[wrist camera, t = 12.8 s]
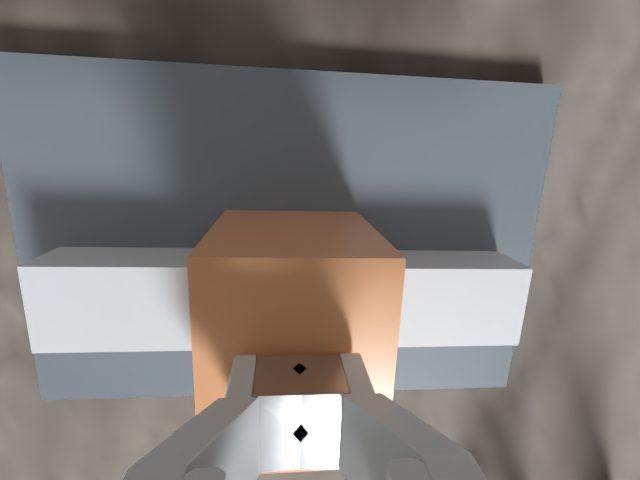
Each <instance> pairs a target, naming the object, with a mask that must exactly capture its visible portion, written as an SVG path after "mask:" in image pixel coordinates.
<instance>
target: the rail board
mask: <svg viewBox="0 0 640 480" xmlns="http://www.w3.org/2000/svg"><path fill="white" fill-rule="evenodd" d="M561 89H562V85H554V84H537V83H520V82H503V81H487V80H470V79H453V78H436V77H419V76H402V75H385V74H368V73H351V72H335V71H318V70H301V69H284V68H267V67H250V66H233V65H216V64H199V63H182V62H166V61H149V60H132V59H115V58H98V57H81V56H64V55H47V54H30V53H13V52H0V159H1V165H2V171H3V176H4V182H5V188H6V194H7V200H8V206H9V212H10V218H11V224H12V230H13V235H14V241H15V247H16V253H17V259H18V265H19V266H18V267H17V269H18V275H19V281H20V286H21V292H22V298H23V304H24V310H25V316H26V322H27V327H28V333H29V339H30V345H31V351H32V353H34V359H35V365H36V371H37V377H38V383H39V389H40V395H41V400H68V399H103V398H138V397H173V396H195V395H194V378H193V360H192V342H191V324H190V307H189V289H188V271H187V257H188V255H189V254H190V253H191V252H192V250H193V249H194V248H195V247H196V245H197V244H198V243H199V242H200V241H201V239H202V238H203V237H204V236H205V234H206V233H207V232H208V231H209V230H210V228H211V227H212V226H213V225H214V223H215V222H216V221H217V220H218V218H219V217H220V216H221V215H222V214H223V212H224V211H225V210H274V211H333V212H358V213H359V214H360V215H361V216H362V217H363V218H364V219H365V220H366V221H367V222H369V223H370V224H371V225H372V226H373V227H374V228H375V229H376V230H377V231H378V232H379V233H380V234H381V235H382V236H383V237H384V238H385V239H386V240H387V241H389V242H390V243H391V244H392V245H393V246H394V247H395V248H396V249H397V250H398V251H399V252H400V253H401V254H402V255H403V256H404V257H405V258H406V267H405V277H404V288H403V298H402V309H401V319H400V329H399V340H398V350H397V361H396V371H395V381H394V390H417V389H452V388H487V387H506V385H507V380H508V374H509V369H510V364H511V358H512V353H513V347H514V345H519V340H520V334H521V329H522V324H523V318H524V313H525V308H526V303H527V297H528V292H529V287H530V281H531V276H532V271H533V269H531V268H529V261H530V256H531V251H532V245H533V240H534V234H535V229H536V224H537V218H538V213H539V208H540V202H541V197H542V191H543V186H544V181H545V175H546V170H547V165H548V159H549V154H550V148H551V143H552V138H553V132H554V127H555V121H556V116H557V111H558V105H559V100H560V95H561Z"/></svg>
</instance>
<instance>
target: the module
mask: <svg viewBox="0 0 640 480" xmlns="http://www.w3.org/2000/svg"><path fill="white" fill-rule="evenodd" d="M405 267H406V258H405V257H404V256H403V255H402V254H401V253H400V252H399V251H398V250H397V249H396V248H395V247H394V246H393V245H392V244H391V243H390V242H389V241H387V240H386V239H385V238H384V237H383V236H382V235H381V234H380V233H379V232H378V231H377V230H376V229H375V228H374V227H373V226H372V225H371V224H370V223H369V222H367V221H366V220H365V219H364V218H363V217H362V216H361V215H360V214H359V213H358V212H333V211H274V210H225V211H224V212H223V214H222V215H221V216H220V217H219V218H218V220H217V221H216V222H215V223H214V225H213V226H212V227H211V228H210V230H209V231H208V232H207V233H206V234H205V236H204V237H203V238H202V239H201V241H200V242H199V243H198V244H197V245H196V247H195V248H194V249H193V250H192V252H191V253H190V254H189V255H188V257H187V271H188V289H189V307H190V324H191V342H192V360H193V378H194V395H195V413H196V415H198V414H199V413H200V412H201V411H203V410H204V409H205V408H206V407H208V406H209V405H210V404H211V403H213V402H214V401H215V400H217V399H218V398H225V395H226V390H227V386H228V382H229V377H230V373H231V368H232V364H233V359H234V357H235V356H236V355H255V354H256V355H318V354H342V353H360V354H361V356H362V359H363V362H364V364H365V367H366V370H367V372H368V375H369V378H370V380H371V383H372V386H373V388H374V391H375V393H382V394H383V395H385V396H386V397H388V398H389V399H391V400H392V401H393V392H394V381H395V371H396V361H397V350H398V340H399V329H400V319H401V309H402V298H403V288H404V277H405ZM324 470H339V469H302V470H300V469H299V470H287V471H274V472H262V473H259V474H268V473H287V472H306V471H324Z"/></svg>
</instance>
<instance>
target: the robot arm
mask: <svg viewBox="0 0 640 480" xmlns="http://www.w3.org/2000/svg"><path fill="white" fill-rule="evenodd" d="M299 469H300V470H302V469H339V472H340V473H341V474H342V475H343V477H344V478H345V479H346V480H487V478H486V477H485V475H484V473H483V472H482V470H481V468H480V467H479V465H478V463H477V462H476V460H475V458H474V457H473V455H472V454H471V453H470V452H468V451H467V450H465V449H464V448H462V447H461V446H459V445H458V444H456V443H455V442H453V441H452V440H450V439H449V438H447V437H446V436H444V435H443V434H441V433H440V432H438V431H437V430H435V429H434V428H432V427H431V426H429V425H428V424H426V423H425V422H424V421H422V420H421V419H419V418H418V417H416V416H415V415H413V414H412V413H410V412H409V411H407V410H406V409H404V408H403V407H401V406H400V405H398V404H397V403H395V402H394V401H392V400H391V399H389V398H388V397H386V396H385V395H383V394H382V393H375V391H374V388H373V386H372V383H371V380H370V378H369V375H368V372H367V370H366V367H365V364H364V362H363V359H362V356H361V354H360V353H342V354H318V355H256V354H255V355H236V356H235V357H234V359H233V364H232V368H231V373H230V377H229V382H228V386H227V390H226V395H225V398H218V399H217V400H215V401H214V402H213V403H211V404H210V405H209V406H208V407H206V408H205V409H204V410H203V411H201V412H200V413H199V414H198V415H196V416H195V417H194V418H192V419H191V420H190V421H189V422H187V423H186V424H185V425H184V426H182V427H181V428H180V429H178V430H177V431H176V432H175V433H173V434H172V435H171V436H170V437H168V438H167V439H166V440H165V441H163V442H162V443H161V444H159V445H158V446H157V447H156V448H154V449H153V450H152V451H151V452H149V453H148V454H147V455H145V456H144V457H143V458H142V459H140V460H139V461H138V462H137V463H135V464H134V465H133V466H132V467H130V468H129V469H128V471H127V473H126V475H125V477H124V479H123V480H256V479H257V478H258V476H259V473H262V472H274V471H287V470H299Z"/></svg>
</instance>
